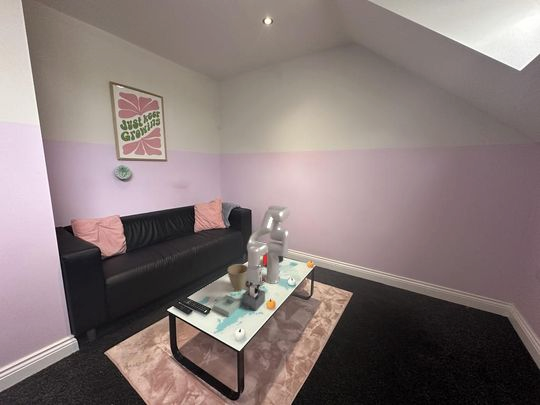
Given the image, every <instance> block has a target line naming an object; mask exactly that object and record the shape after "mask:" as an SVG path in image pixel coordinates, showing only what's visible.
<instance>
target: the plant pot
mask: <svg viewBox="0 0 540 405" xmlns="http://www.w3.org/2000/svg"><path fill="white" fill-rule="evenodd" d="M247 267H248V265H245V264H243V263H238V264H237V263H236V264H232V265H230V266H228V268H227V274H228V278H229V281H230V284H231V287H232V289H233V290H234V292H242V291H243V290H244V288H245V286H246V284H247V281H246V280H245V278H246V271H247Z"/></svg>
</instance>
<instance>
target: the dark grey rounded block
mask: <svg viewBox="0 0 540 405" xmlns="http://www.w3.org/2000/svg"><path fill="white" fill-rule="evenodd" d="M265 302H266V291H265V290H262V289H259V291H258V294H257V295H256V296H255V297H252V296H250V292H249V288H248V289H246V290H245V292H243V293H242V294H241V306H243V307H245V308H248V309H250V310H251V311H252V310H253V311H255V312H257V311H258V310H259V308H261V307H262V305H263V304H264V303H265Z"/></svg>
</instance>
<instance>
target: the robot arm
mask: <svg viewBox="0 0 540 405" xmlns="http://www.w3.org/2000/svg"><path fill="white" fill-rule="evenodd" d="M290 214H291V210H290V208H289V207H288V206H281V205H270V206H269V207H268V209H267V210H266V211H265V212H264V215H263V218H262V221H261V224H260V227H259V228H258V229H256V230H255V231H254V232H253V233H251V235H250V236H249V239H248V242H247V245H246V250H247V271H246V278H245V280H246V284H247V286H248V289H249V292H250V286H251V285H252V284H253V283H254V284H255V286H256V288H255V294H256V293H257V292H258V291H259V288H260V287H262V286H263V285H264V282H263V273H262V265H261V264H260V263H261V259H260V258H261V257H263V255H265V254H266V253H267V267H266V276H265V275H264V281H265V282H266V283H268V284H272V285H273V284H278V283H280V281H281V277H280V275H279V274H280V273H281V270H280V269H279V268H280V263H279V258H278V255H279V256H283V257H286V256H288V253H289V245H290V241H291V240H290V239H291V232H290V231H289V230H288V229H284V228H282V227H283V222H285V221H286V220H287V219H288V218H289V216H290ZM268 234H269V239H271V240H273V241H268V242H267V243H261V242H258V241H257V242H256V240H257V239H258V238H260V237H262V236H265V235H268ZM276 241H277V242H276Z"/></svg>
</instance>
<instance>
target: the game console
mask: <svg viewBox="0 0 540 405" xmlns="http://www.w3.org/2000/svg"><path fill="white" fill-rule="evenodd" d="M278 258H279V264H280V263H282V262H283V261H284V256H279V255H278ZM262 265H263V266H264V267H266V268H267V253H266V254H265V255H263V256H262Z"/></svg>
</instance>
